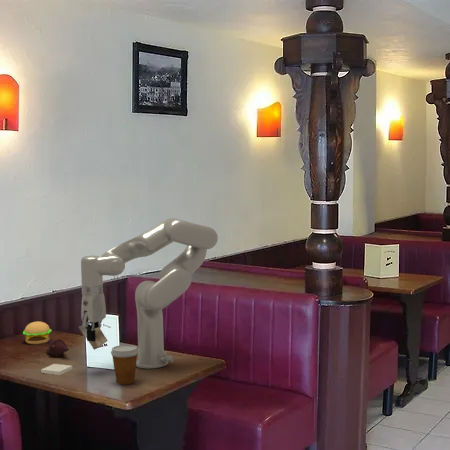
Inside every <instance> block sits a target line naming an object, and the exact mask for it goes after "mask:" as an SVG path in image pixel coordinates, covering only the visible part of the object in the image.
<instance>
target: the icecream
mask: <svg viewBox="0 0 450 450" xmlns="http://www.w3.org/2000/svg"><path fill="white" fill-rule="evenodd" d="M46 344H47V345H48V349H46V354H48V355H52V356H54V357H56V358H58V357H62V356H64V354H65V353H66V352H69V350H70V349H69V348H68V346H67V344H66V343H65V341H64V340H62V339H60V338H59V339H49V340H48V341H47V342H46Z"/></svg>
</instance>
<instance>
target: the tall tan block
mask: <svg viewBox="0 0 450 450" xmlns="http://www.w3.org/2000/svg"><path fill="white" fill-rule="evenodd" d="M78 328H79V330H80V332H81V333H82V336H84V337H85V338H86V339H87V330H86V328H85V327H84V326H83V325H80V326H78ZM94 330H95V341H88V342H89V344H90V346H91V347H92V349H93V350H97V349H100V347H101V346H103V345H104V344H106V343H107V342H108V341H109V340H108V339H107V337H106V336H105V334H104V333H103V330H101V328H99V327H98V328H95V329H94Z"/></svg>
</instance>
